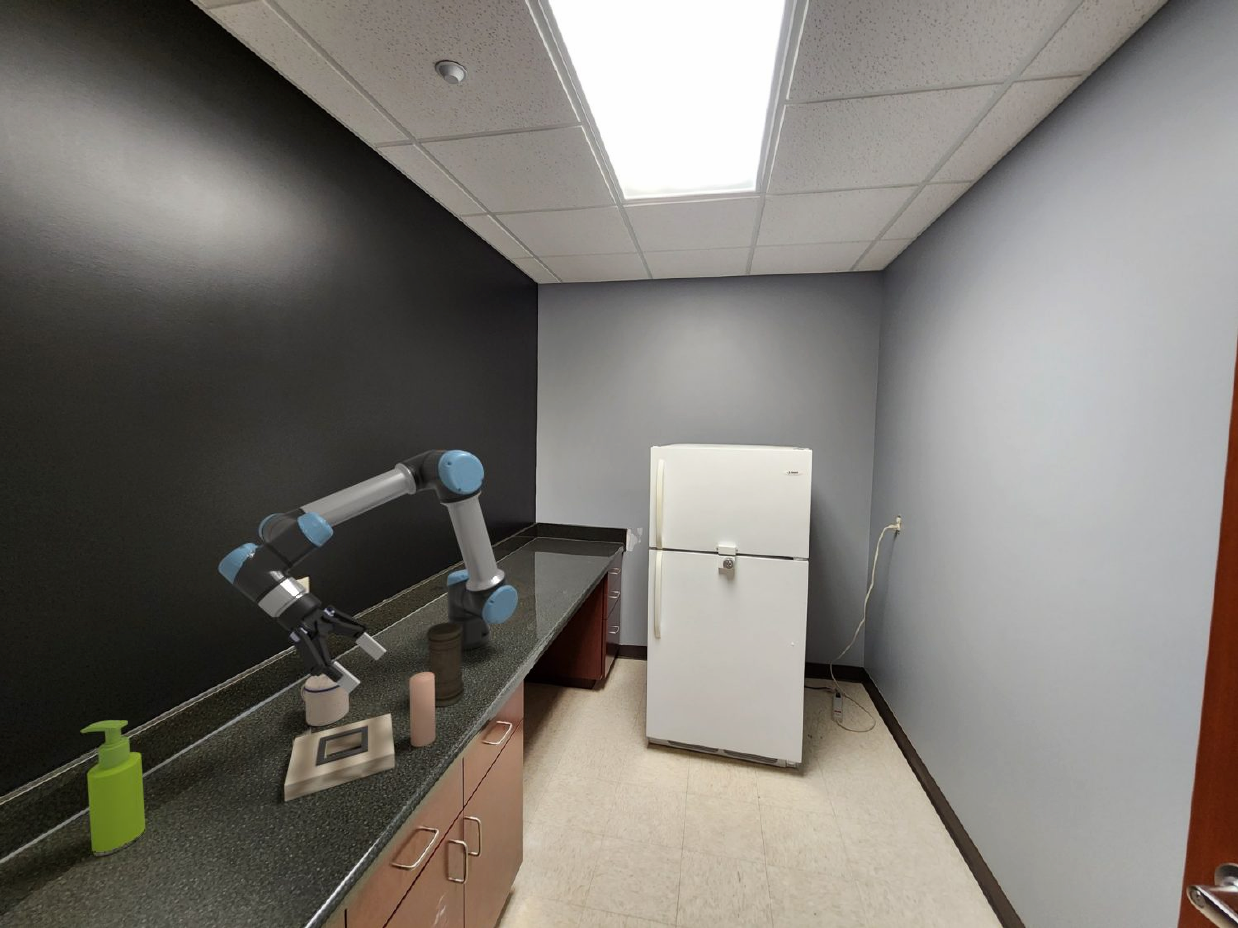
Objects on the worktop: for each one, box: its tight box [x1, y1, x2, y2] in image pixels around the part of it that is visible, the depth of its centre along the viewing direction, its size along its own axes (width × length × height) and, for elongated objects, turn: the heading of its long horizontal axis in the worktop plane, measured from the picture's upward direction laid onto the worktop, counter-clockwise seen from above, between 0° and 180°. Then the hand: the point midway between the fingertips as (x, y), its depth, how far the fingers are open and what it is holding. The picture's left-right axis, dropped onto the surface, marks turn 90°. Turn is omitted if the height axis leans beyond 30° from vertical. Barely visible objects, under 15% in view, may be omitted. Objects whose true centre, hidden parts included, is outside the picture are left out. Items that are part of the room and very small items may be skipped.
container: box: [426, 621, 465, 707], centre depth 116 cm, size 9×9×18 cm
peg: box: [409, 671, 436, 748], centre depth 100 cm, size 5×5×14 cm
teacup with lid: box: [300, 673, 350, 727], centre depth 108 cm, size 12×9×12 cm
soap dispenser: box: [80, 719, 146, 852], centre depth 74 cm, size 6×7×20 cm
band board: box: [284, 713, 396, 803], centre depth 94 cm, size 18×15×3 cm
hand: (369, 670), depth 98 cm, fingers open, 13 cm apart
